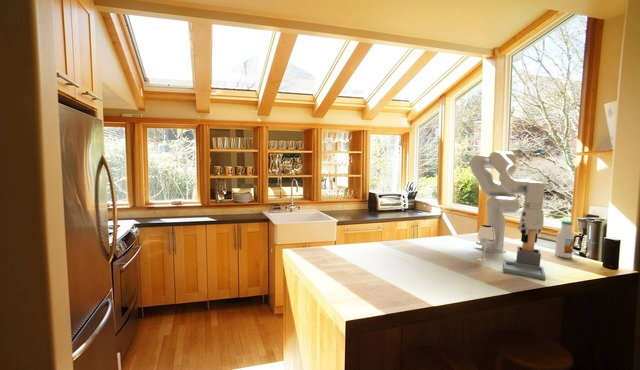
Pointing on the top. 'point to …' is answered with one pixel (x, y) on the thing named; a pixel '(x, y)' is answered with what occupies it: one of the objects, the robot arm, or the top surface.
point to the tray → (524, 270)
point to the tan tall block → (529, 242)
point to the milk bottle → (565, 240)
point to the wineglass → (486, 237)
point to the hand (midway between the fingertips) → (528, 241)
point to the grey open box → (528, 257)
